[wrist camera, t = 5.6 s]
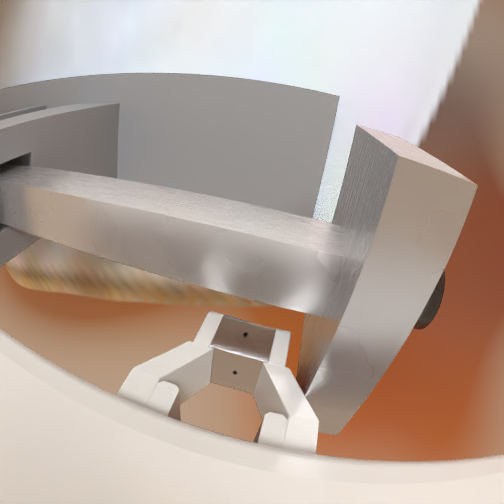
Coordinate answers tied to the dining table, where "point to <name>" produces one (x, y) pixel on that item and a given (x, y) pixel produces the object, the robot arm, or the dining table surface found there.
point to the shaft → (281, 252)
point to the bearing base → (172, 136)
